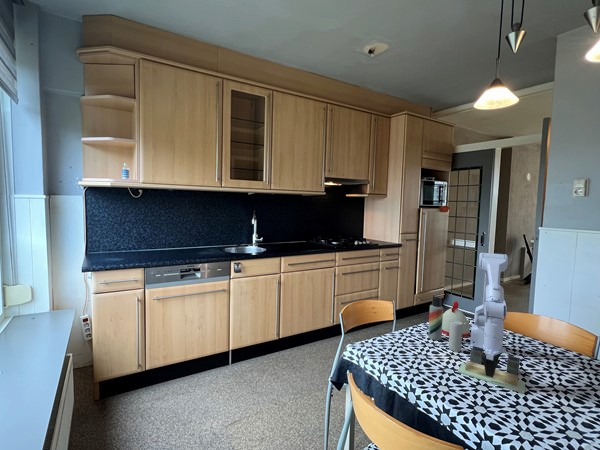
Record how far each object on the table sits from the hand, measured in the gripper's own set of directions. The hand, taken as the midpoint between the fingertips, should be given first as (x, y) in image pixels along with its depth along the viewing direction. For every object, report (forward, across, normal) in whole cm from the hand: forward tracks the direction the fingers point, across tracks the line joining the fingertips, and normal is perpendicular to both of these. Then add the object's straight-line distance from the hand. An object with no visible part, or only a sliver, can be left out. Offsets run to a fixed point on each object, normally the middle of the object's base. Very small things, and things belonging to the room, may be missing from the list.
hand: (490, 371), depth 111 cm
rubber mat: (+2, 0, 0) cm, 2 cm away
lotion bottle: (+2, +23, +25) cm, 34 cm away
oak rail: (+2, 0, 0) cm, 2 cm away
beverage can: (+2, +16, +15) cm, 22 cm away
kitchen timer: (+2, +38, +20) cm, 43 cm away
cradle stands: (+2, +10, 0) cm, 10 cm away
